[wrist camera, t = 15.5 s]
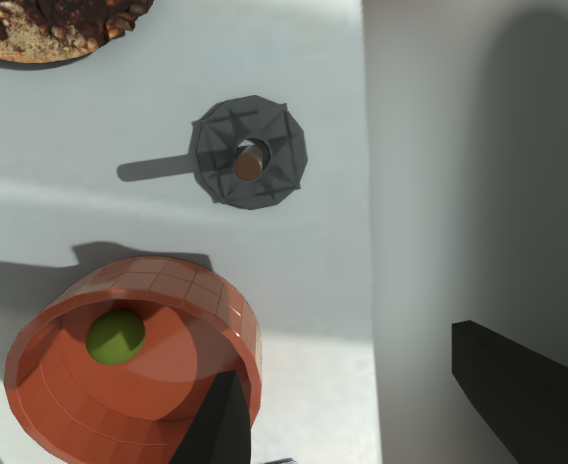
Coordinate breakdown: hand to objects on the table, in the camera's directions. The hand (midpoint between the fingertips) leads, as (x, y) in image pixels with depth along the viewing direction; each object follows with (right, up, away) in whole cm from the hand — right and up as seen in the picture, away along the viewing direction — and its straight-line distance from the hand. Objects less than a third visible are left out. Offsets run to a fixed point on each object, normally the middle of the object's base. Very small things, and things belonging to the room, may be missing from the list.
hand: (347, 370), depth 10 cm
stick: (-4, +8, +3) cm, 9 cm away
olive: (-12, -2, +7) cm, 14 cm away
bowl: (-10, -3, +10) cm, 15 cm away
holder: (-4, +9, +7) cm, 12 cm away
